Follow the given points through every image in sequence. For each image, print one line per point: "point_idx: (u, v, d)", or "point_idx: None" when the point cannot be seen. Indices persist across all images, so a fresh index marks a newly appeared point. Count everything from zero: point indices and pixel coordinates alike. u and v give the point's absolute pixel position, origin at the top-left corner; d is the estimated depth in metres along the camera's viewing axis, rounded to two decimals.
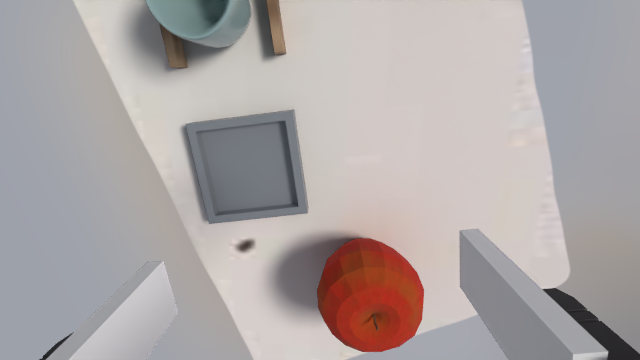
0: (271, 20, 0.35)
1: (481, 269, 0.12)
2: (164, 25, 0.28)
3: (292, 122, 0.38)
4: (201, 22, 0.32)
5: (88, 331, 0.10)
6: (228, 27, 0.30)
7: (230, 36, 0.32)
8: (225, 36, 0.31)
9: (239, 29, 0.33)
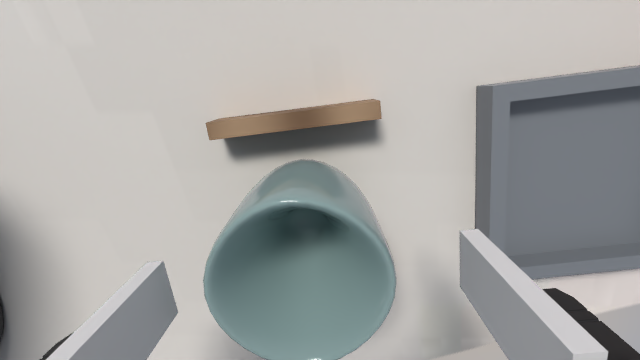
0: (324, 122, 0.18)
1: (481, 269, 0.12)
2: (365, 338, 0.14)
3: (516, 86, 0.18)
4: (338, 251, 0.17)
5: (88, 331, 0.10)
6: (362, 208, 0.14)
7: (366, 202, 0.16)
8: (372, 214, 0.15)
9: (350, 183, 0.16)
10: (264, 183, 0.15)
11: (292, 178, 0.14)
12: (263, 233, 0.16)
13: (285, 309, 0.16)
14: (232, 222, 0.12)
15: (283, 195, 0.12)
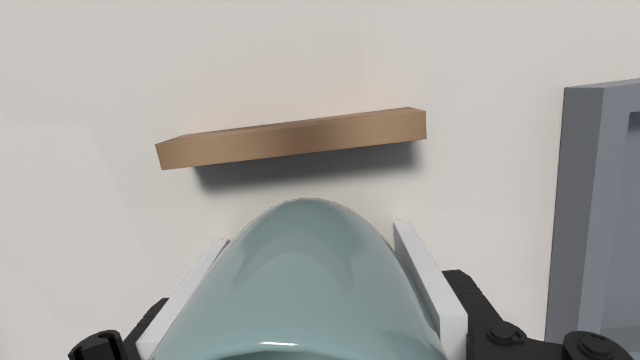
0: (336, 143, 0.12)
1: (403, 255, 0.13)
2: None
3: None
4: None
5: (184, 294, 0.11)
6: (415, 325, 0.07)
7: (411, 287, 0.09)
8: (426, 319, 0.08)
9: (381, 250, 0.10)
10: (233, 261, 0.08)
11: (281, 260, 0.08)
12: None
13: None
14: None
15: (255, 323, 0.06)
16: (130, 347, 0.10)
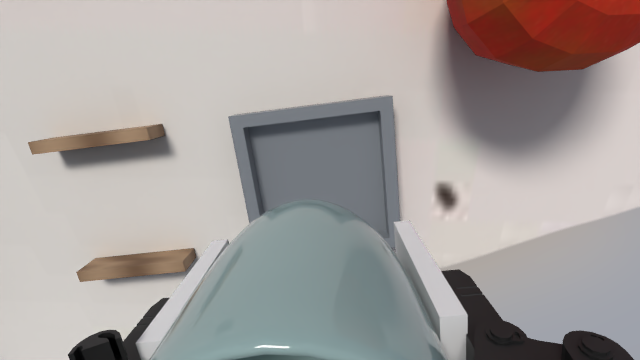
0: (110, 142, 0.26)
1: (404, 255, 0.13)
2: None
3: (245, 117, 0.26)
4: None
5: (184, 294, 0.11)
6: (416, 328, 0.07)
7: (412, 289, 0.09)
8: (427, 321, 0.08)
9: (381, 252, 0.10)
10: (233, 263, 0.08)
11: (281, 262, 0.08)
12: None
13: None
14: None
15: (255, 326, 0.06)
16: (130, 347, 0.10)
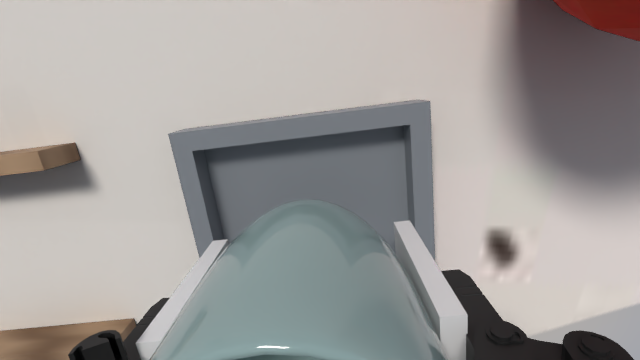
0: None
1: (404, 255, 0.13)
2: None
3: (195, 134, 0.16)
4: None
5: (184, 294, 0.11)
6: (416, 328, 0.07)
7: (412, 289, 0.09)
8: (427, 321, 0.08)
9: (381, 252, 0.10)
10: (233, 263, 0.08)
11: (281, 262, 0.08)
12: None
13: None
14: None
15: (255, 326, 0.06)
16: (130, 347, 0.10)
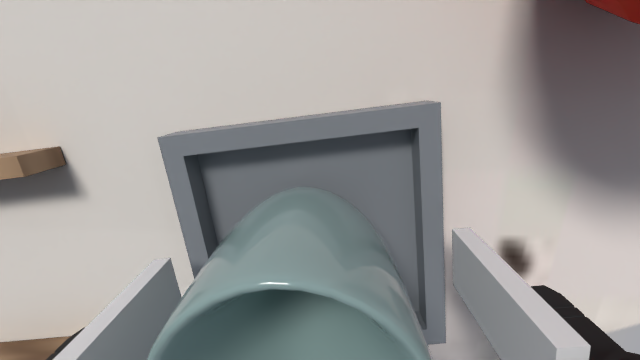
0: None
1: (472, 267, 0.12)
2: None
3: (186, 138, 0.15)
4: (346, 319, 0.12)
5: (99, 326, 0.10)
6: (387, 281, 0.09)
7: (389, 258, 0.11)
8: (399, 281, 0.10)
9: (365, 228, 0.12)
10: (242, 232, 0.10)
11: (282, 230, 0.09)
12: (241, 298, 0.11)
13: None
14: (181, 311, 0.08)
15: (262, 270, 0.08)
16: None
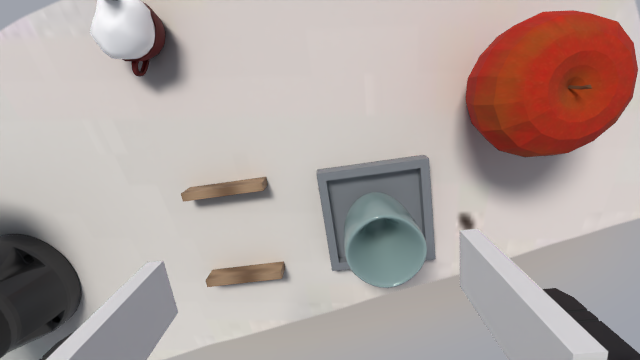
0: (236, 192, 0.38)
1: (480, 269, 0.12)
2: (413, 275, 0.31)
3: (328, 173, 0.38)
4: (396, 239, 0.35)
5: (88, 331, 0.10)
6: (411, 218, 0.32)
7: (411, 215, 0.34)
8: (415, 221, 0.33)
9: (402, 206, 0.34)
10: (365, 206, 0.33)
11: (380, 205, 0.32)
12: (362, 229, 0.34)
13: (373, 264, 0.34)
14: (360, 224, 0.30)
15: (381, 213, 0.30)
16: None
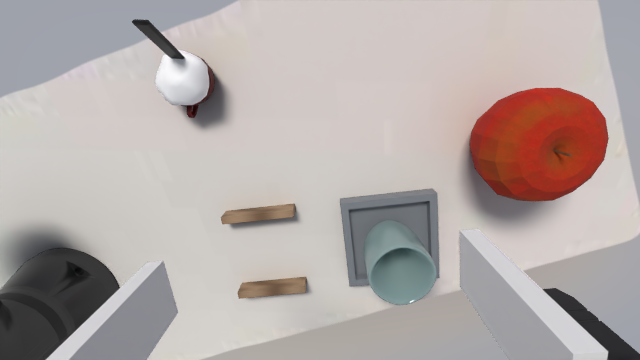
0: (270, 217, 0.44)
1: (480, 269, 0.12)
2: (424, 294, 0.38)
3: (350, 203, 0.44)
4: (408, 262, 0.41)
5: (88, 331, 0.10)
6: (424, 247, 0.38)
7: (422, 243, 0.40)
8: None
9: (415, 235, 0.41)
10: (384, 236, 0.39)
11: (397, 235, 0.38)
12: None
13: (390, 284, 0.40)
14: (382, 252, 0.36)
15: (399, 244, 0.36)
16: None
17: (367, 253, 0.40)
